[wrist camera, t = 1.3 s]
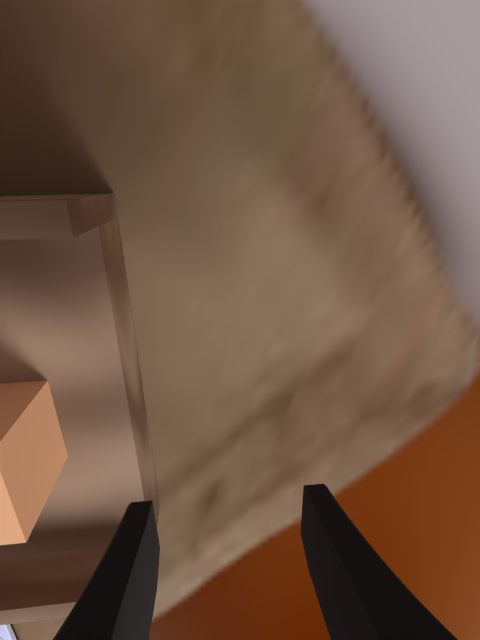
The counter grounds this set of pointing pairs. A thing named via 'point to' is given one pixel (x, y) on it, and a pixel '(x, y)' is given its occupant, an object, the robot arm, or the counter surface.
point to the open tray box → (72, 389)
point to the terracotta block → (27, 456)
